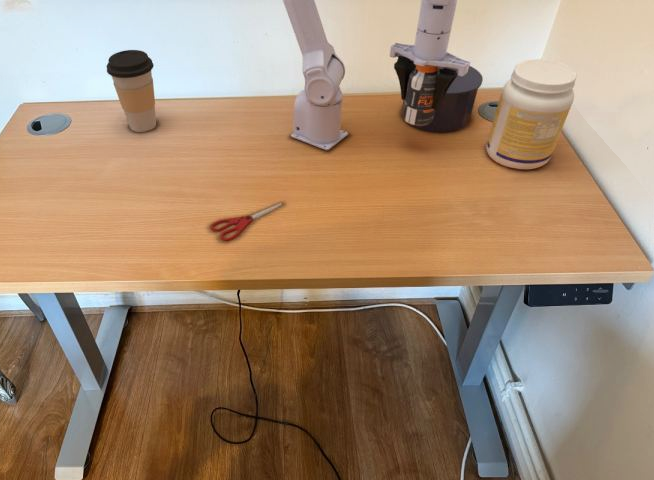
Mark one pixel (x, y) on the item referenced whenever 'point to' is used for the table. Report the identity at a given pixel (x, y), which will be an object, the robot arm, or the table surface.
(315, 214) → the table surface
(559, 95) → the supplement tub
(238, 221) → the scissors
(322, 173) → the table surface
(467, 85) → the pot lid
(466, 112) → the pot
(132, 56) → the coffee cup
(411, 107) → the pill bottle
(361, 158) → the table surface
